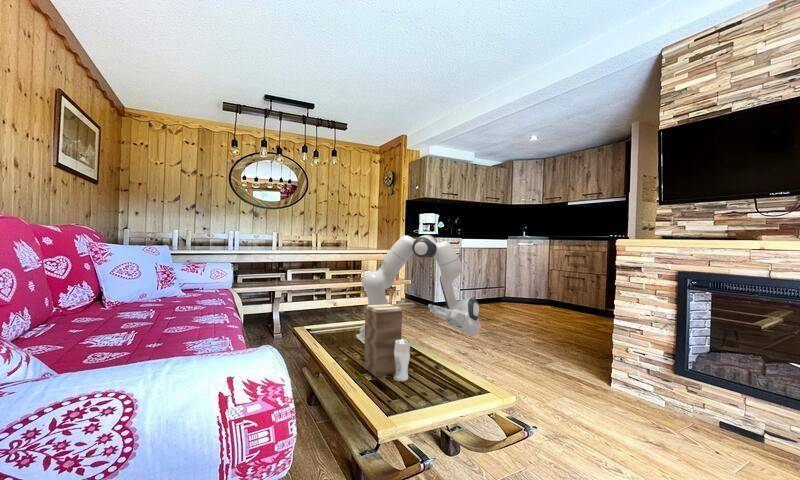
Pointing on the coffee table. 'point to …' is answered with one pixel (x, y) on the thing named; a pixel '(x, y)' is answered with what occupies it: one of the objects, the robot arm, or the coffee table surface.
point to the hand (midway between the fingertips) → (435, 307)
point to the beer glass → (401, 359)
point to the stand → (381, 340)
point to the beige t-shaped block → (389, 307)
